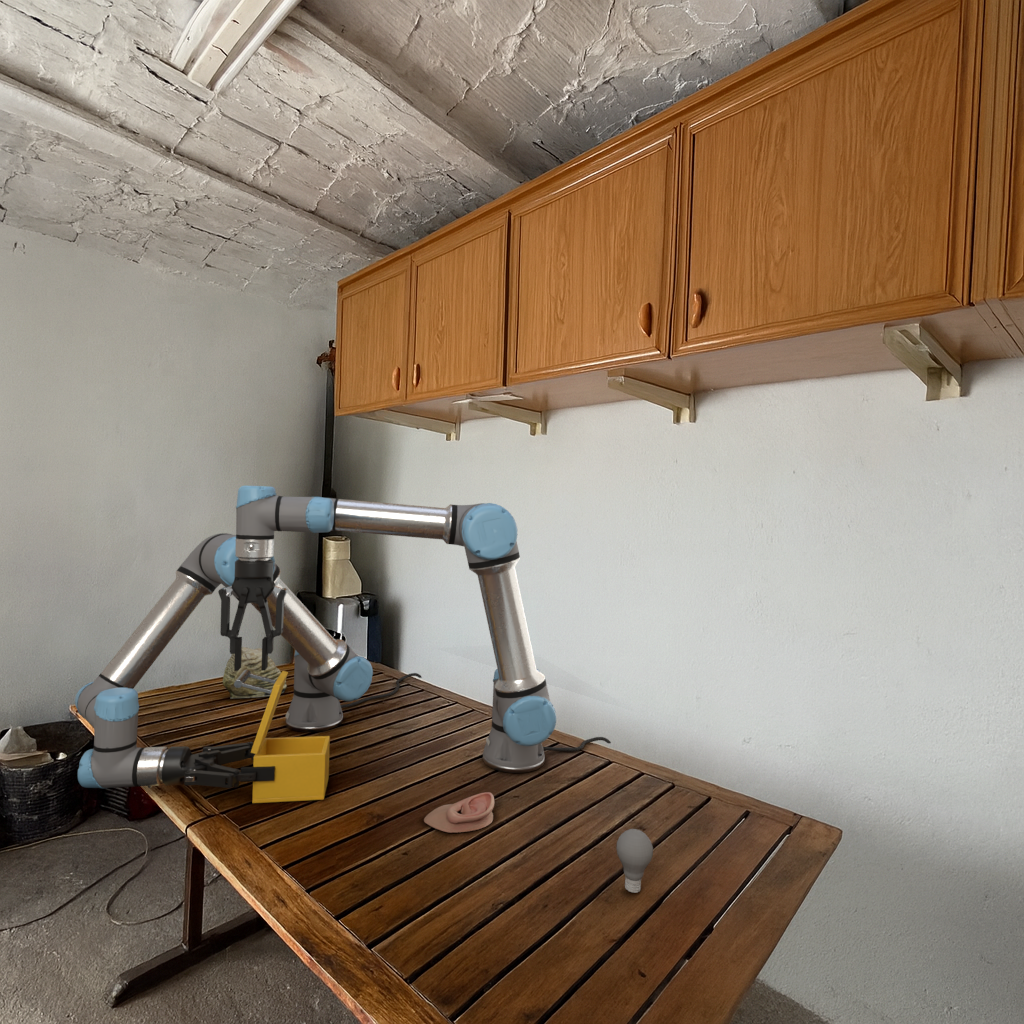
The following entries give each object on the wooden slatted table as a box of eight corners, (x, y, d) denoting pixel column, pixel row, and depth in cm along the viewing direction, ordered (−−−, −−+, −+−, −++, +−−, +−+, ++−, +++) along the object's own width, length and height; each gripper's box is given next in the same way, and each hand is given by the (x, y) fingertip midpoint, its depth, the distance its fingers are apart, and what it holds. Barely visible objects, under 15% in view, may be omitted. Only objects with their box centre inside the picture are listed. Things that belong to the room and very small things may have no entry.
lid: (288, 672, 140) (247, 661, 138) (280, 685, 130) (236, 673, 128) (266, 735, 140) (225, 725, 138) (256, 754, 130) (212, 743, 128)
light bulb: (610, 879, 108) (613, 822, 108) (644, 879, 109) (647, 822, 109) (619, 902, 102) (622, 840, 102) (655, 901, 103) (658, 840, 103)
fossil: (218, 695, 195) (220, 647, 195) (278, 685, 208) (279, 640, 207) (228, 703, 189) (230, 653, 188) (289, 692, 201) (290, 645, 201)
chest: (328, 778, 142) (329, 735, 142) (323, 799, 132) (325, 754, 132) (262, 781, 140) (263, 738, 139) (252, 803, 130) (253, 756, 130)
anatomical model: (419, 808, 122) (437, 782, 134) (418, 828, 122) (437, 801, 134) (485, 817, 120) (499, 791, 131) (484, 838, 120) (498, 810, 131)
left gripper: (183, 761, 142) (286, 758, 147) (144, 810, 120) (268, 805, 124) (184, 728, 142) (288, 726, 146) (146, 771, 120) (269, 767, 124)
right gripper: (204, 559, 128) (201, 674, 128) (295, 561, 131) (292, 673, 132) (214, 556, 135) (211, 664, 136) (300, 557, 139) (297, 663, 139)
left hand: (278, 762), depth 135 cm, fingers closed on chest, 10 cm apart
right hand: (251, 668), depth 134 cm, fingers open, 5 cm apart
